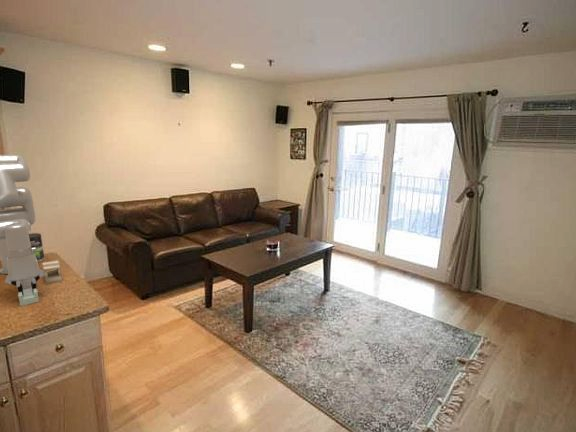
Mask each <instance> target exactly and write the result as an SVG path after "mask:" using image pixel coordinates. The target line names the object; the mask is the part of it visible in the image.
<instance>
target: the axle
mask: <svg viewBox="0 0 576 432" xmlns="http://www.w3.org/2000/svg"><path fill="white" fill-rule="evenodd" d="M31 282H32V279H31V278H26V279H21V284H22V287H23V294H24V297H25V296H29V295H33V291H32V285H31Z"/></svg>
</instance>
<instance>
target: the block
mask: <svg viewBox="0 0 576 432" xmlns="http://www.w3.org/2000/svg"><path fill="white" fill-rule="evenodd" d="M41 264H42V265H41V266H42V269H43V270H42V271H43V272H44V273H45V275H44V280H45V283H46V285H49V284H54V283H57V282H58V283H59V282H63V276H62V271H61V265H60V262H59V260H58V259H56V260H51V261H45V262H42V263H41Z"/></svg>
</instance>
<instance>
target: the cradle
mask: <svg viewBox="0 0 576 432" xmlns="http://www.w3.org/2000/svg"><path fill="white" fill-rule="evenodd" d="M20 283H21V285H22V280H20ZM31 285H32V284H31ZM22 288H23V287H22ZM32 291H34V292H33V295H29V296H25V297H24V295H22V292H19V291H18V293H17V294H18V295H17V297H18V301H19V305H20V307H23V306H27V305H31V304H35V303H39V302H40V298H39V293H38V287H37V286H36V289H32Z"/></svg>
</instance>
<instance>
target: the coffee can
mask: <svg viewBox="0 0 576 432" xmlns="http://www.w3.org/2000/svg"><path fill="white" fill-rule="evenodd" d="M29 239H30V244H31V247H32V248H36V251H33V253H35V256H36V258H37V262H38V263H39V262H41V261H43V260H45V259H46V257H45V253H44V247H43V240H42V239H43V238H42V234H41V233H36V232H35V233H34V232H33V233H29Z"/></svg>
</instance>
